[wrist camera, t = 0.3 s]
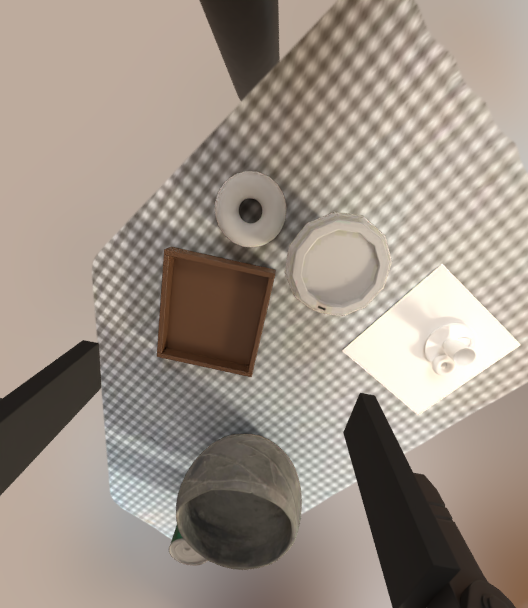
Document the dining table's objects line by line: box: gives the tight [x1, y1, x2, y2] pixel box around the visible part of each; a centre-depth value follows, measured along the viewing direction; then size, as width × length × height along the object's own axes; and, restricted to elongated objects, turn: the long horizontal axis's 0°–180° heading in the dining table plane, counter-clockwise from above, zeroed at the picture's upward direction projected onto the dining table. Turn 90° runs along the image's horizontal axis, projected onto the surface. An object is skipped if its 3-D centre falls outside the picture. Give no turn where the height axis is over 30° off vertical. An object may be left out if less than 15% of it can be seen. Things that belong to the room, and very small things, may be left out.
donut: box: [215, 171, 287, 247], centre depth 36 cm, size 10×3×10 cm
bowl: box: [176, 434, 302, 570], centre depth 47 cm, size 21×21×15 cm
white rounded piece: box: [424, 322, 478, 377], centre depth 41 cm, size 9×8×4 cm
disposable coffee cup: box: [285, 212, 392, 316], centre depth 32 cm, size 11×11×15 cm
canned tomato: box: [169, 526, 208, 565], centre depth 54 cm, size 8×8×11 cm
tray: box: [157, 247, 276, 377], centre depth 43 cm, size 19×17×3 cm
